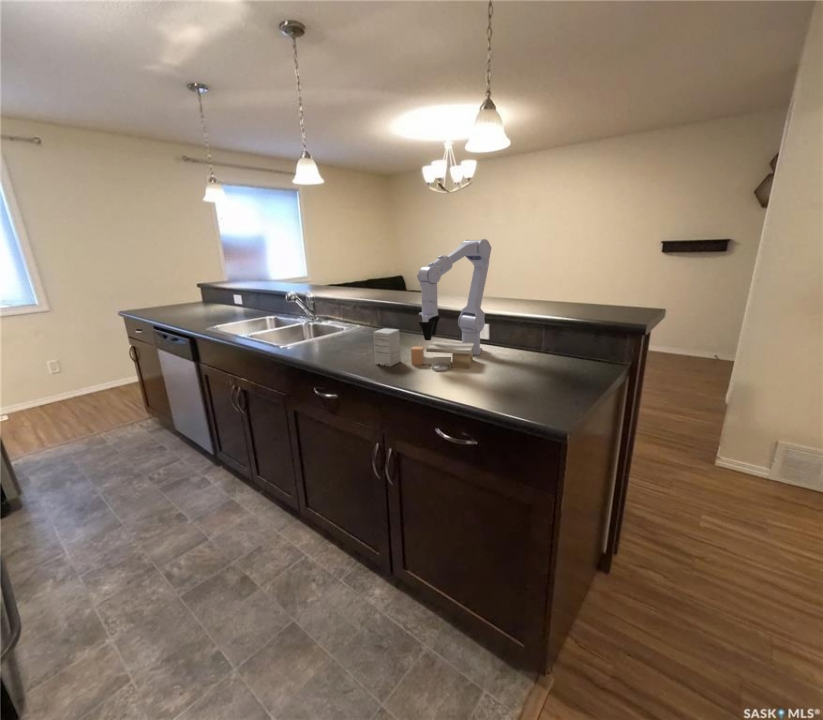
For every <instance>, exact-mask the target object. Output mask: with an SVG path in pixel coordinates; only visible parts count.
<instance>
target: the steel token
mask: <svg viewBox="0 0 823 720" xmlns="http://www.w3.org/2000/svg"><path fill="white" fill-rule="evenodd" d="M449 367H450V365H448V364H444V363H437V364H431V370H432V371H434V372H440V373H441V372H447V371H449V369H450V368H449Z"/></svg>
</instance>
